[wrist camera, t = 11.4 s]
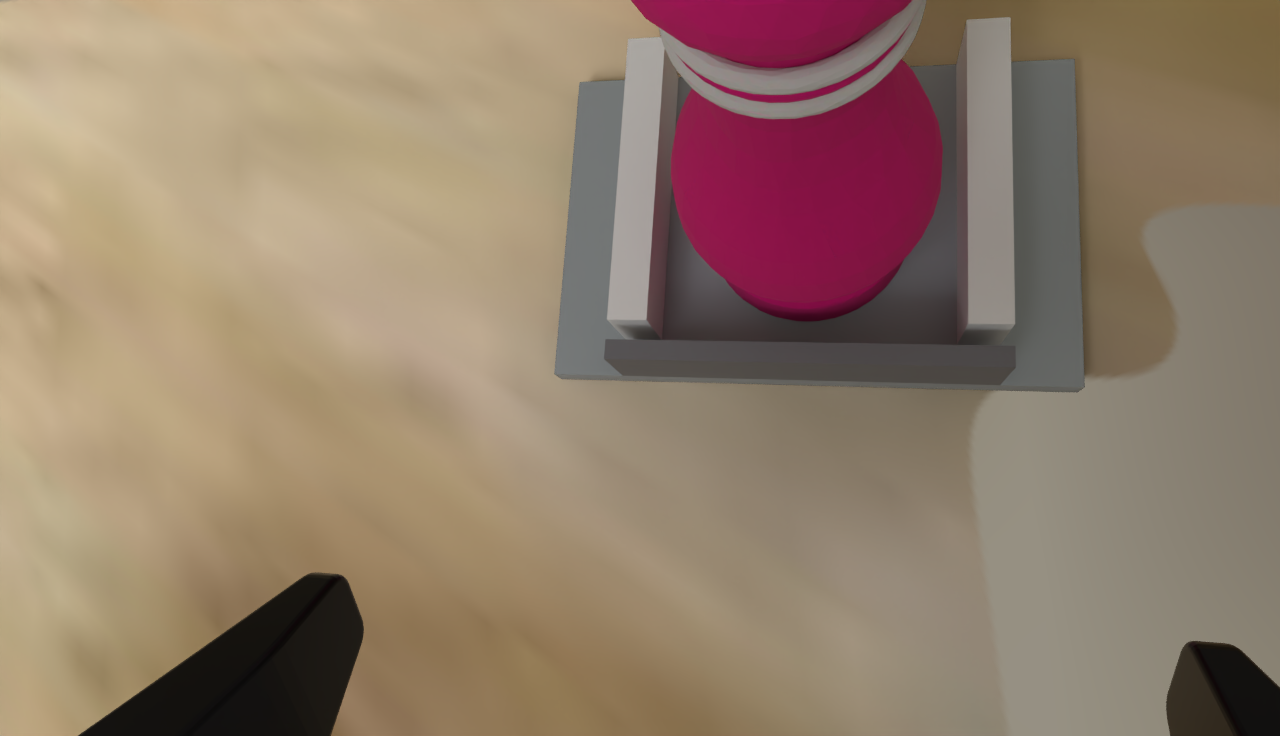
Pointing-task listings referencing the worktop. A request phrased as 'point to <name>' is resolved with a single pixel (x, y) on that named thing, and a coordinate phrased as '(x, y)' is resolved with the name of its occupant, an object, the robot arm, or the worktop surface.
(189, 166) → the worktop surface
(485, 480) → the worktop surface
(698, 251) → the pepper mill
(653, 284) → the rail dock
